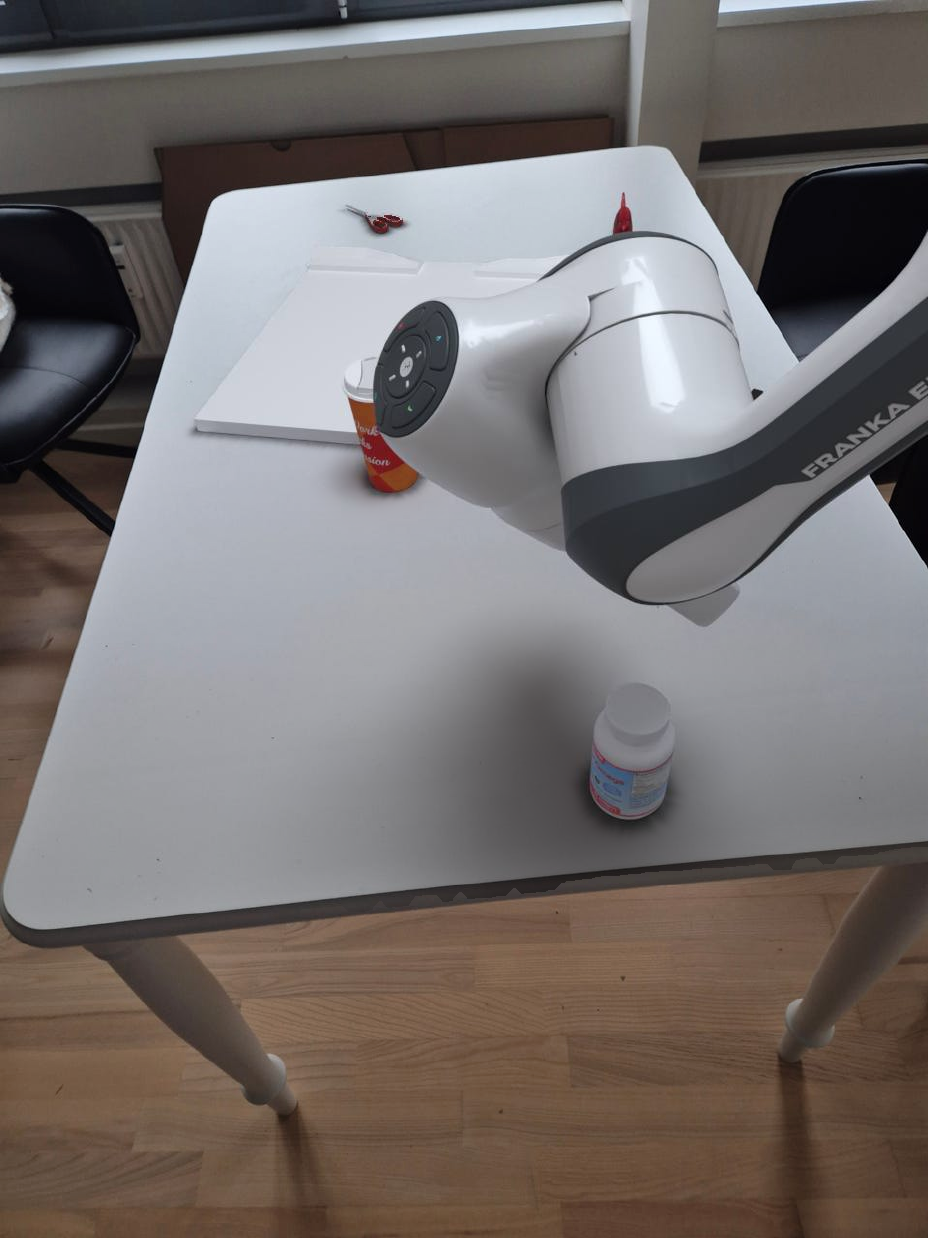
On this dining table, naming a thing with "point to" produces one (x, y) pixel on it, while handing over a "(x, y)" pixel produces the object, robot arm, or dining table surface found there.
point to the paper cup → (374, 430)
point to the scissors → (380, 220)
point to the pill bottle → (632, 752)
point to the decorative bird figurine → (623, 219)
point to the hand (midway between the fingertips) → (663, 541)
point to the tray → (340, 337)
